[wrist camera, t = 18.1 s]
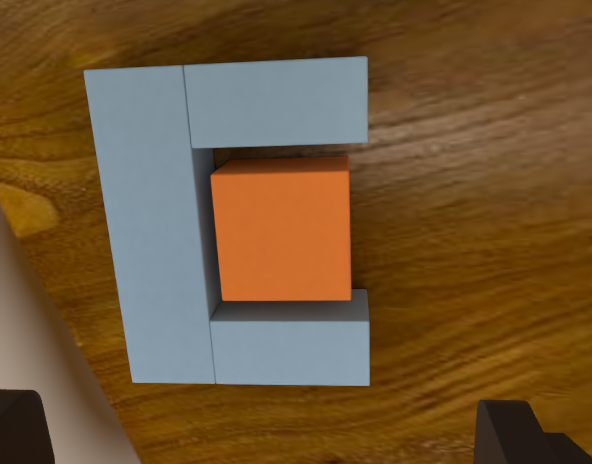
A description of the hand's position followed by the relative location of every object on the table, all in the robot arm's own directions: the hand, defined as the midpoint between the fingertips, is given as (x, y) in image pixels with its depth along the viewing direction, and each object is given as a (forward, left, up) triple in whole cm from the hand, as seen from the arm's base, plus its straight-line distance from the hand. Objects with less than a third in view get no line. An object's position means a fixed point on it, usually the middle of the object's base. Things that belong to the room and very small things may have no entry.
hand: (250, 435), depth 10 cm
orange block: (+1, -1, -16) cm, 16 cm away
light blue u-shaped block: (0, -3, -16) cm, 17 cm away
